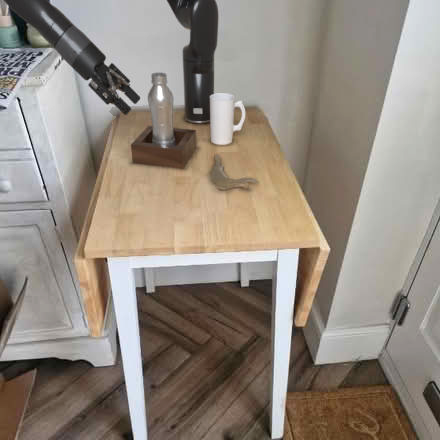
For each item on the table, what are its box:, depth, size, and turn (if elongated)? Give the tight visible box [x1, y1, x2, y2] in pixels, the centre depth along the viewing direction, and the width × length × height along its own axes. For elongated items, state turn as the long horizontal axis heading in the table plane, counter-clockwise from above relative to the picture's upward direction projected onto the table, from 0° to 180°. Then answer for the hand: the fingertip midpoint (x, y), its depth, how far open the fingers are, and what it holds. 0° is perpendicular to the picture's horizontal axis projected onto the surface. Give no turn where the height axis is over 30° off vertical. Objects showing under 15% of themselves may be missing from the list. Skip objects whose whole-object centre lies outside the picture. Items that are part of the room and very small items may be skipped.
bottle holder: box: [130, 125, 197, 170], centre depth 113 cm, size 14×14×5 cm
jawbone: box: [210, 153, 260, 191], centre depth 106 cm, size 9×20×2 cm, turn 30°
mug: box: [209, 92, 246, 146], centre depth 119 cm, size 10×7×12 cm, turn 99°
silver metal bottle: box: [147, 72, 176, 146], centre depth 108 cm, size 6×7×20 cm
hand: (133, 106), depth 107 cm, fingers open, 8 cm apart
